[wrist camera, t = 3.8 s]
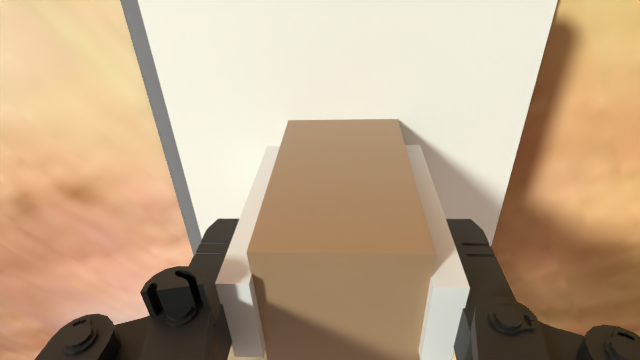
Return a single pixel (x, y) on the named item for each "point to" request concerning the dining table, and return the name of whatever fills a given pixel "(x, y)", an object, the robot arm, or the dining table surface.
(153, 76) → the mat
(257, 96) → the lid
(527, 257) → the dining table surface
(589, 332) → the robot arm
